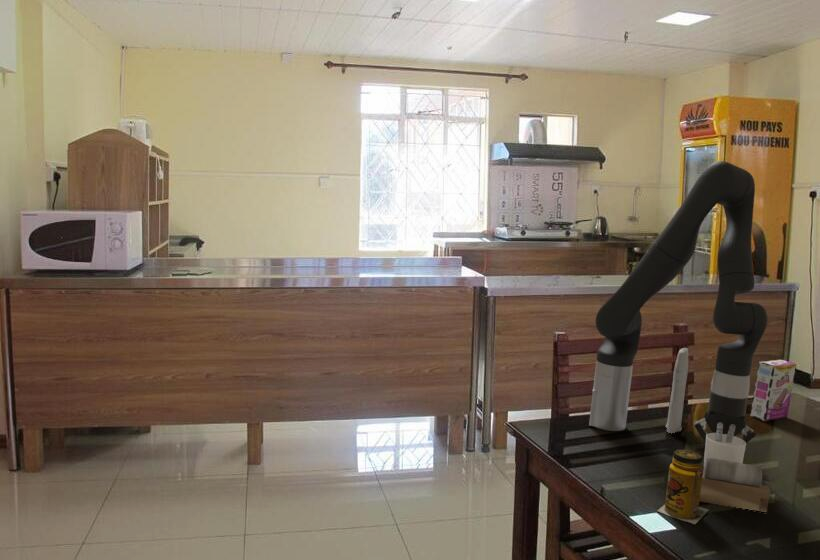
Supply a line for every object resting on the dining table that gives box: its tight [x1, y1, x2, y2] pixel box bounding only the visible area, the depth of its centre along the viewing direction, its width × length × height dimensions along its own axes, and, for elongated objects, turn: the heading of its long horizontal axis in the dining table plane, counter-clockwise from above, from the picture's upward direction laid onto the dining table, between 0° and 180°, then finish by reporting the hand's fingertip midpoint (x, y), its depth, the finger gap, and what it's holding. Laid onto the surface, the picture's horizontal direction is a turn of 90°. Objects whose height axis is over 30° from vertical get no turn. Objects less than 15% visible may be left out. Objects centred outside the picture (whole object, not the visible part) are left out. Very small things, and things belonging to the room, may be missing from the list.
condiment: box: [656, 449, 710, 525], centre depth 134 cm, size 7×8×12 cm
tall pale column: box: [665, 347, 689, 435], centre depth 181 cm, size 11×4×22 cm, turn 148°
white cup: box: [703, 432, 747, 475], centre depth 149 cm, size 8×8×10 cm
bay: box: [699, 458, 775, 513], centre depth 145 cm, size 18×14×9 cm
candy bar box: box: [749, 359, 797, 422], centre depth 198 cm, size 11×5×16 cm, turn 120°
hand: (718, 465), depth 154 cm, fingers closed
